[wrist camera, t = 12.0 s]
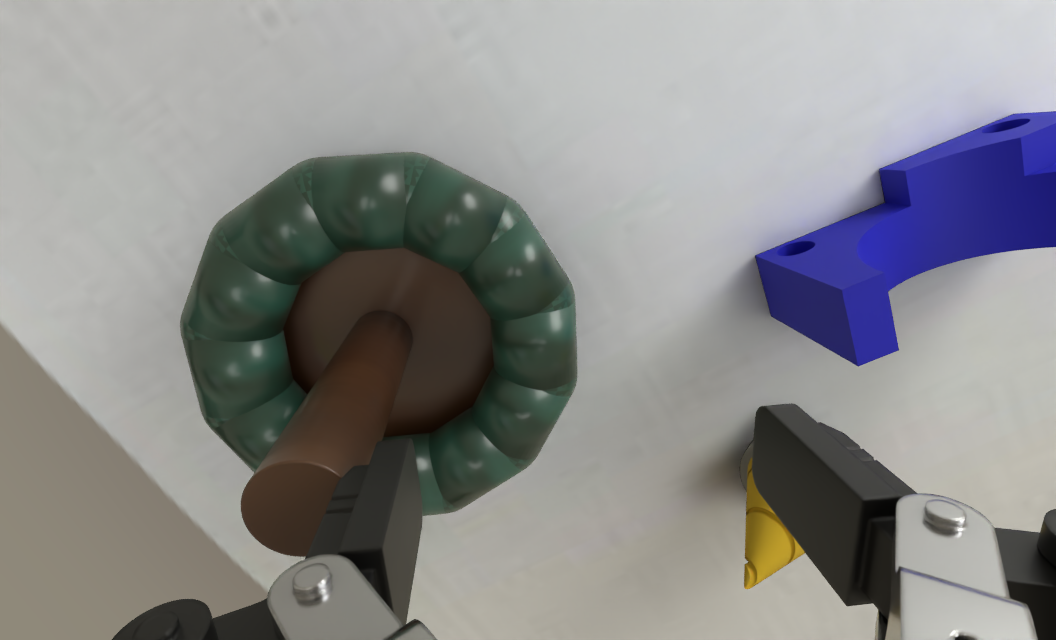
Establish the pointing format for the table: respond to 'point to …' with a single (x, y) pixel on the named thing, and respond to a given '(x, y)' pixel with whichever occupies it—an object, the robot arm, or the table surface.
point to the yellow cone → (763, 532)
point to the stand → (365, 379)
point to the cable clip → (917, 233)
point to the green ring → (375, 224)
